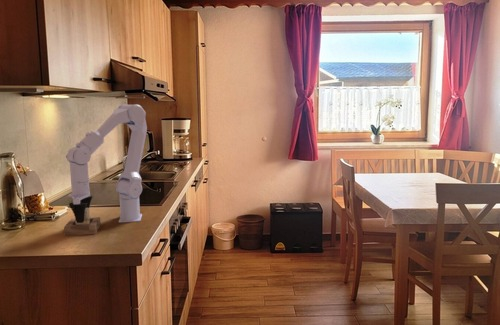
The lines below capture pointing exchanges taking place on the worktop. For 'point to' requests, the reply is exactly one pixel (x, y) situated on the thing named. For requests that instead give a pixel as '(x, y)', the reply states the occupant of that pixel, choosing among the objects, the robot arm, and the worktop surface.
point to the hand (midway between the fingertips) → (82, 219)
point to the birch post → (85, 217)
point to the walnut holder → (82, 227)
